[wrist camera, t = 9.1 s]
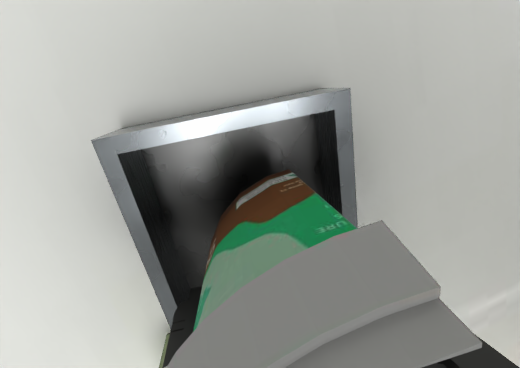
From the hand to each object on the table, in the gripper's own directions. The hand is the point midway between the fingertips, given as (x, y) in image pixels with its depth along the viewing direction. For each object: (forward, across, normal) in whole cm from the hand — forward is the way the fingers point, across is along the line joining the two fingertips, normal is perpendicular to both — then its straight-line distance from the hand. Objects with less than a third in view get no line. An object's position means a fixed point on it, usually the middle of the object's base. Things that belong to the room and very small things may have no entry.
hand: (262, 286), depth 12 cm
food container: (+2, 0, 0) cm, 2 cm away
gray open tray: (+6, 0, 0) cm, 6 cm away
